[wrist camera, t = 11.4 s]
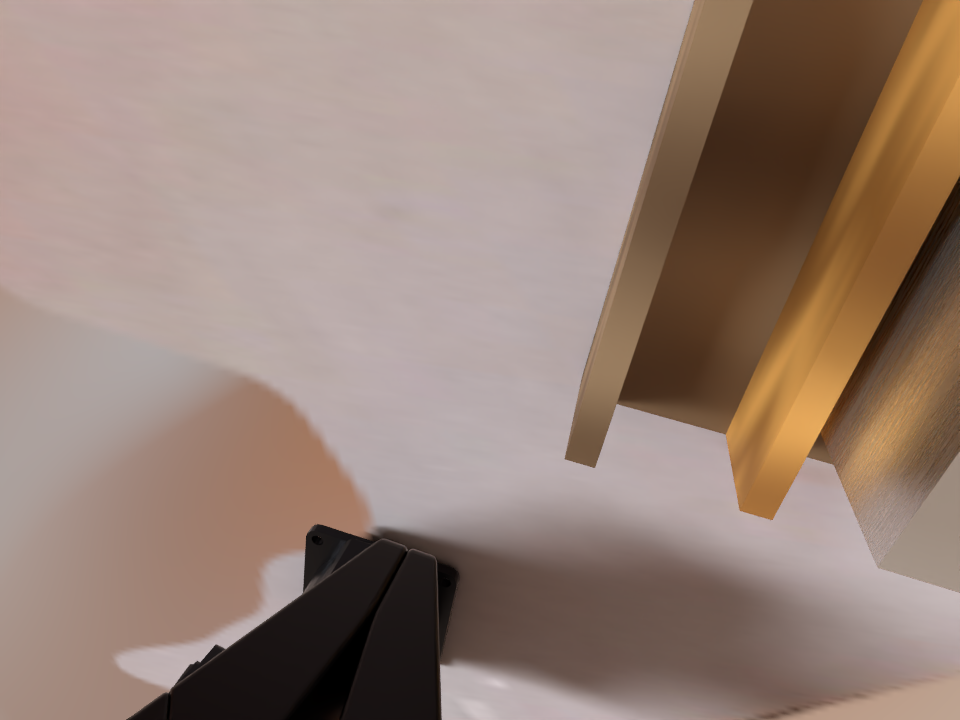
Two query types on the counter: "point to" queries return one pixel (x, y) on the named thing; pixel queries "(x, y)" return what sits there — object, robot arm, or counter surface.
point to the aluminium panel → (909, 418)
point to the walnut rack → (775, 223)
